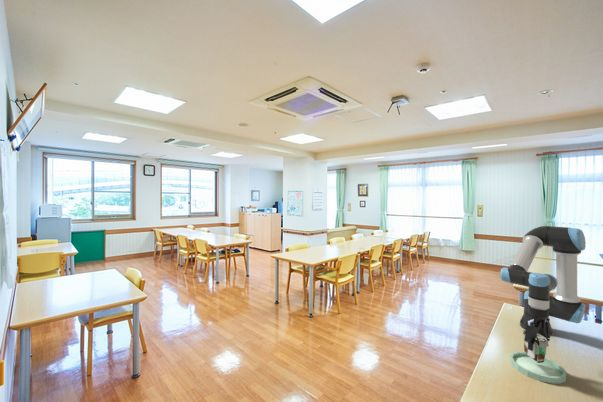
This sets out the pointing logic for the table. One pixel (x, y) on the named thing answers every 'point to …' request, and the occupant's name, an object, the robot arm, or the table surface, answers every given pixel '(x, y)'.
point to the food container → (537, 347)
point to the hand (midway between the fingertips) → (536, 354)
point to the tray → (538, 368)
